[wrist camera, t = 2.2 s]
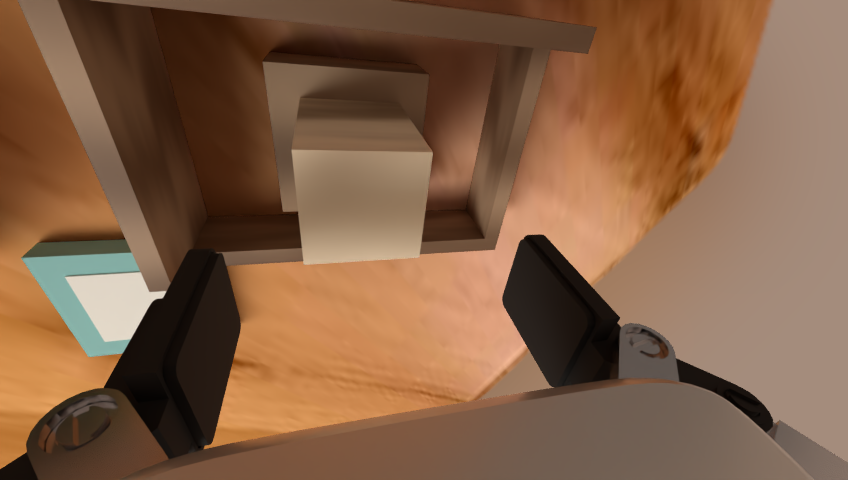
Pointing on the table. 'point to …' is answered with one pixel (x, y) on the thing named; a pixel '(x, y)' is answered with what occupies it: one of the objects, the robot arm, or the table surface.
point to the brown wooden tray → (275, 115)
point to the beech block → (359, 181)
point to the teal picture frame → (93, 290)
